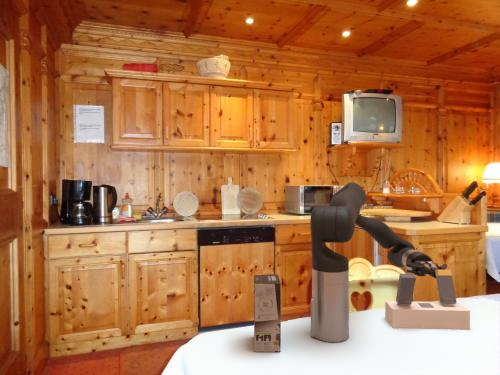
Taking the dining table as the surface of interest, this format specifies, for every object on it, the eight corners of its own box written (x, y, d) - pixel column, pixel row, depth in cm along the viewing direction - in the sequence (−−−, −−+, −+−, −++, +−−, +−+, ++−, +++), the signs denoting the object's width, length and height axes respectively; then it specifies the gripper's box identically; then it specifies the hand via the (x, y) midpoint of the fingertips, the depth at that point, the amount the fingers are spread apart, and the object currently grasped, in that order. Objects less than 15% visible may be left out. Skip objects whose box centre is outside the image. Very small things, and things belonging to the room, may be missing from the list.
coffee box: (281, 352, 86) (281, 283, 86) (253, 352, 86) (253, 283, 86) (279, 335, 95) (278, 273, 95) (254, 335, 96) (253, 273, 95)
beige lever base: (392, 327, 100) (392, 308, 100) (385, 318, 107) (385, 300, 107) (469, 329, 98) (470, 310, 98) (457, 319, 105) (457, 301, 105)
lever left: (397, 305, 102) (401, 277, 99) (395, 300, 104) (399, 273, 101) (411, 305, 102) (415, 278, 99) (408, 300, 104) (413, 273, 100)
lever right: (443, 303, 101) (437, 269, 105) (440, 304, 103) (435, 270, 106) (456, 303, 101) (451, 269, 104) (453, 304, 103) (448, 270, 106)
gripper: (396, 251, 126) (415, 262, 109) (437, 251, 125) (462, 262, 108) (396, 273, 126) (415, 287, 109) (437, 273, 125) (462, 288, 108)
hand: (438, 275), depth 108 cm, fingers closed
